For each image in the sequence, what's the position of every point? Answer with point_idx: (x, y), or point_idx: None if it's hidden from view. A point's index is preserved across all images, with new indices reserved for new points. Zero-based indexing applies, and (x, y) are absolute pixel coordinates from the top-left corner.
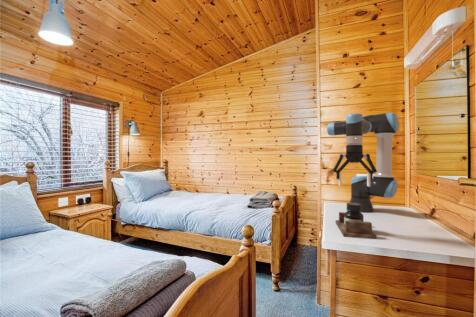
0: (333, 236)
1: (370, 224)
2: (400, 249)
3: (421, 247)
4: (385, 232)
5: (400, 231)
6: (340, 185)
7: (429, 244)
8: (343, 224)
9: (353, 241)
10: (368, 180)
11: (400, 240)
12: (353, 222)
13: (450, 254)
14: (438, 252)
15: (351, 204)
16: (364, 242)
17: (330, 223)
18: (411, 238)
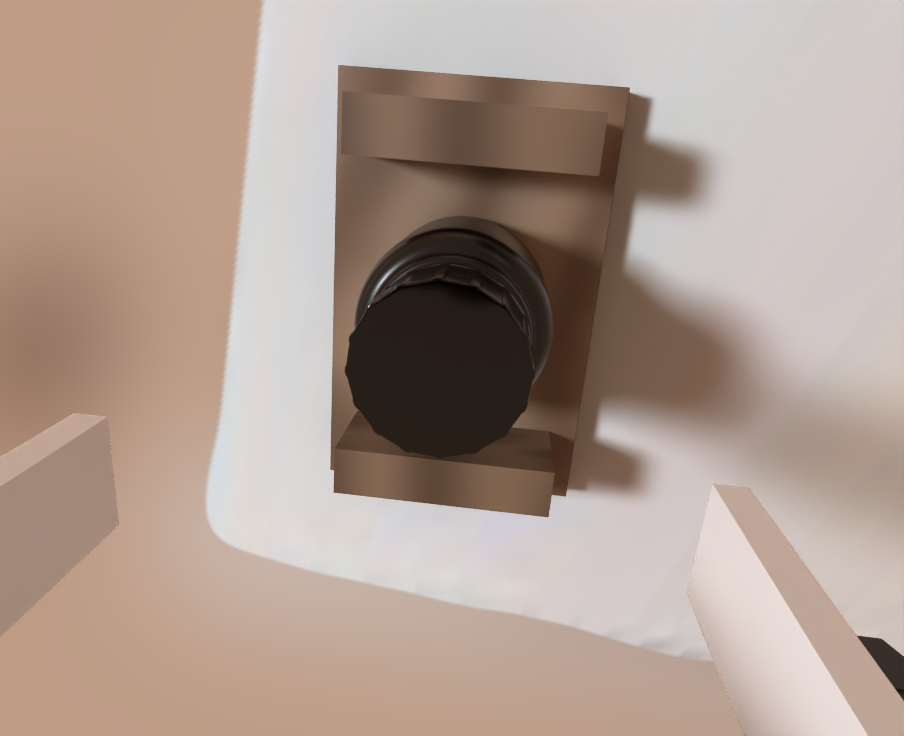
0: (263, 461)
1: (537, 510)
2: (625, 638)
3: None
4: (721, 335)
5: (885, 293)
6: (97, 530)
7: (888, 558)
8: (386, 228)
9: (380, 540)
10: (737, 691)
11: None
12: (394, 496)
13: None
14: None
15: (393, 413)
16: (448, 551)
17: (289, 104)
18: (848, 457)
